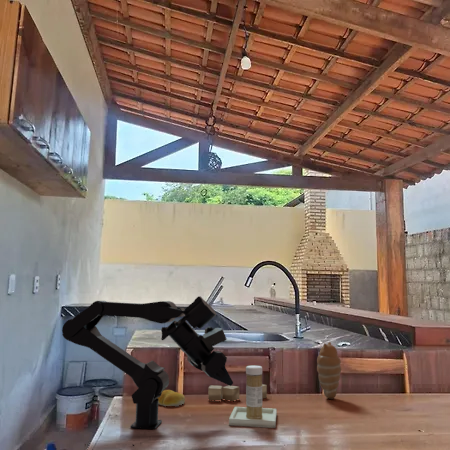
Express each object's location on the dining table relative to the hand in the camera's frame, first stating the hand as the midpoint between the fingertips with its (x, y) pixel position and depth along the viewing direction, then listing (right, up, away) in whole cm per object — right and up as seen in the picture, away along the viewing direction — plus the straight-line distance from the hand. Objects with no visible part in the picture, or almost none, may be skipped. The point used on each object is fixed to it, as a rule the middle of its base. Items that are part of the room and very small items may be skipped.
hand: (225, 380), depth 110 cm
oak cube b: (+2, -15, +22) cm, 26 cm away
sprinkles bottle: (+8, -10, 0) cm, 13 cm away
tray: (+8, -11, +1) cm, 13 cm away
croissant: (+35, -16, +24) cm, 45 cm away
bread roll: (-17, -14, +17) cm, 28 cm away
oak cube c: (+11, -15, +25) cm, 32 cm away
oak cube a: (-3, -15, +22) cm, 26 cm away
